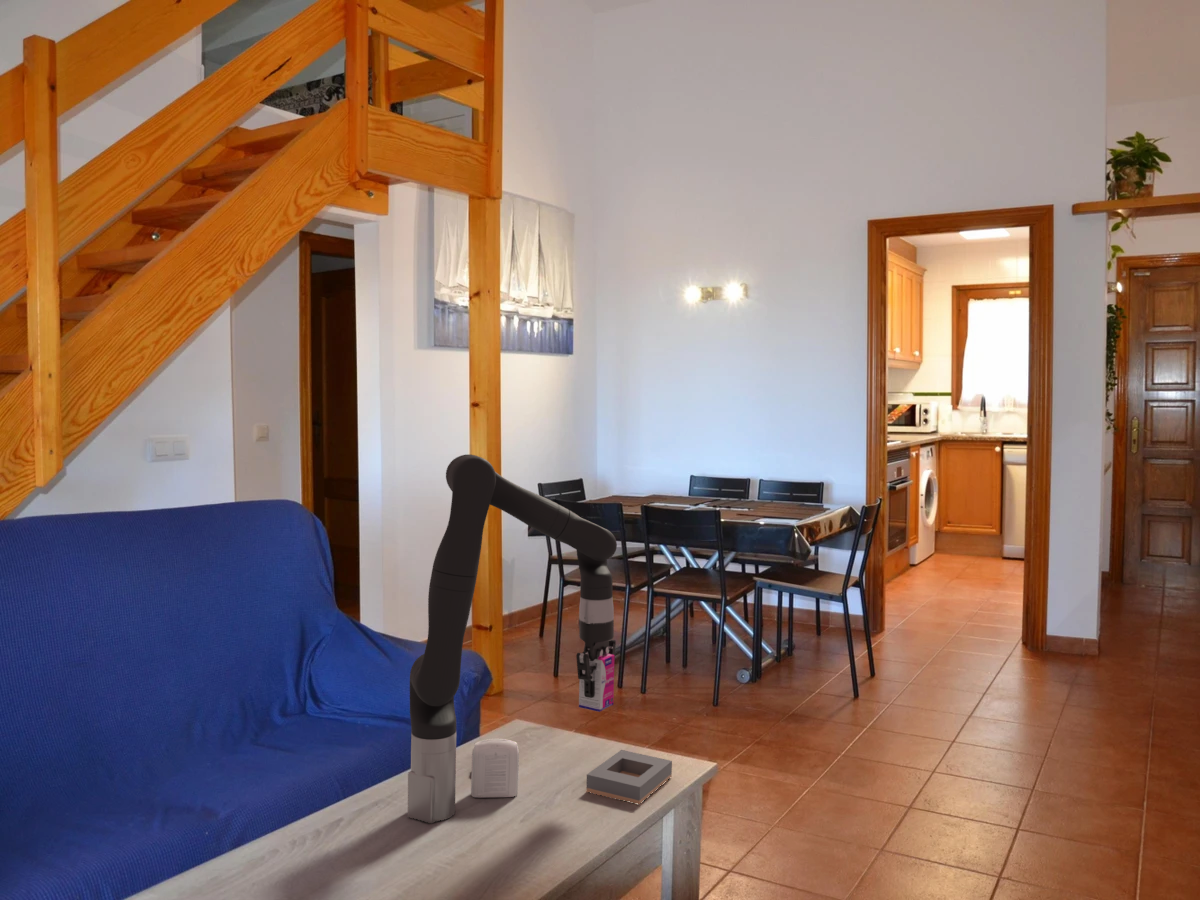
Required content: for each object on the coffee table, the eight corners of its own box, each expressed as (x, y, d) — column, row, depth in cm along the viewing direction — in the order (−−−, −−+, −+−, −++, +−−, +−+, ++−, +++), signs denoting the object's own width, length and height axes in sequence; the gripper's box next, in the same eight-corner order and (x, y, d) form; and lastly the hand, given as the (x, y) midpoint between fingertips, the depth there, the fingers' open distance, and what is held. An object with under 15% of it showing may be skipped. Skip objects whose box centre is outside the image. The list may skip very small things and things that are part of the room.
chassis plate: (639, 805, 209) (639, 787, 208) (586, 792, 215) (586, 774, 215) (671, 777, 224) (671, 760, 223) (621, 766, 230) (621, 749, 230)
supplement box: (601, 712, 210) (601, 660, 209) (578, 707, 213) (578, 656, 212) (615, 704, 214) (615, 653, 214) (592, 700, 218) (592, 649, 217)
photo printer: (517, 790, 215) (518, 735, 214) (518, 798, 211) (519, 742, 210) (470, 791, 214) (471, 736, 213) (471, 799, 210) (471, 743, 209)
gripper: (597, 608, 220) (597, 681, 221) (564, 622, 208) (565, 699, 209) (626, 612, 217) (626, 686, 218) (595, 626, 204) (596, 705, 205)
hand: (596, 692), depth 213 cm, fingers closed on supplement box, 6 cm apart
